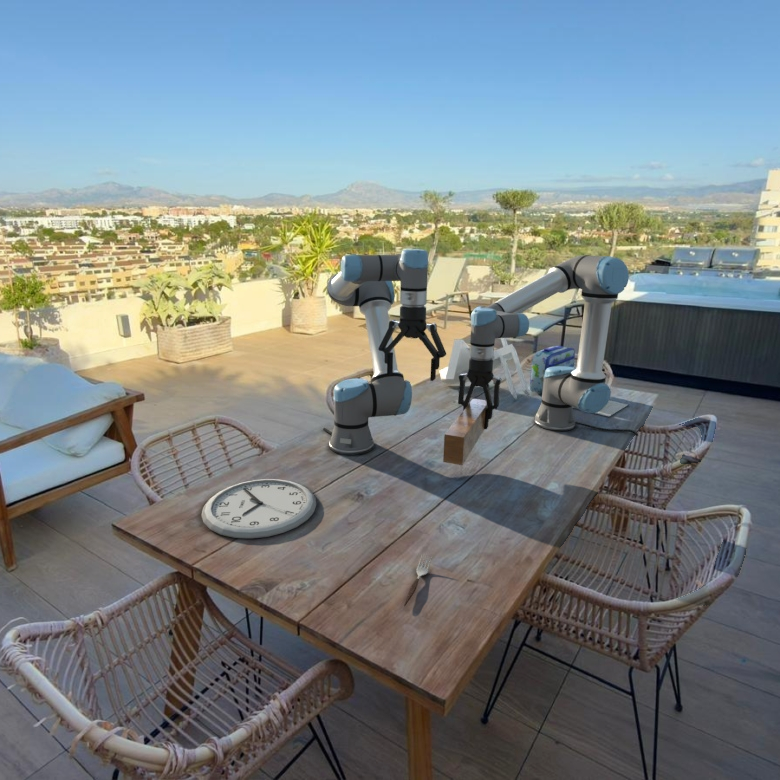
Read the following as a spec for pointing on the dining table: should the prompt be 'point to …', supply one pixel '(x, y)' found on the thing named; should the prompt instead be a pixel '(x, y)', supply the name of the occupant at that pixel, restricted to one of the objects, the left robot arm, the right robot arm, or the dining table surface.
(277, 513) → the wall clock
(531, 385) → the lunch box
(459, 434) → the bar
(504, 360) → the white plastic object
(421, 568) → the fork
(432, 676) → the dining table surface
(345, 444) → the left robot arm
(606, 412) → the invitation card
